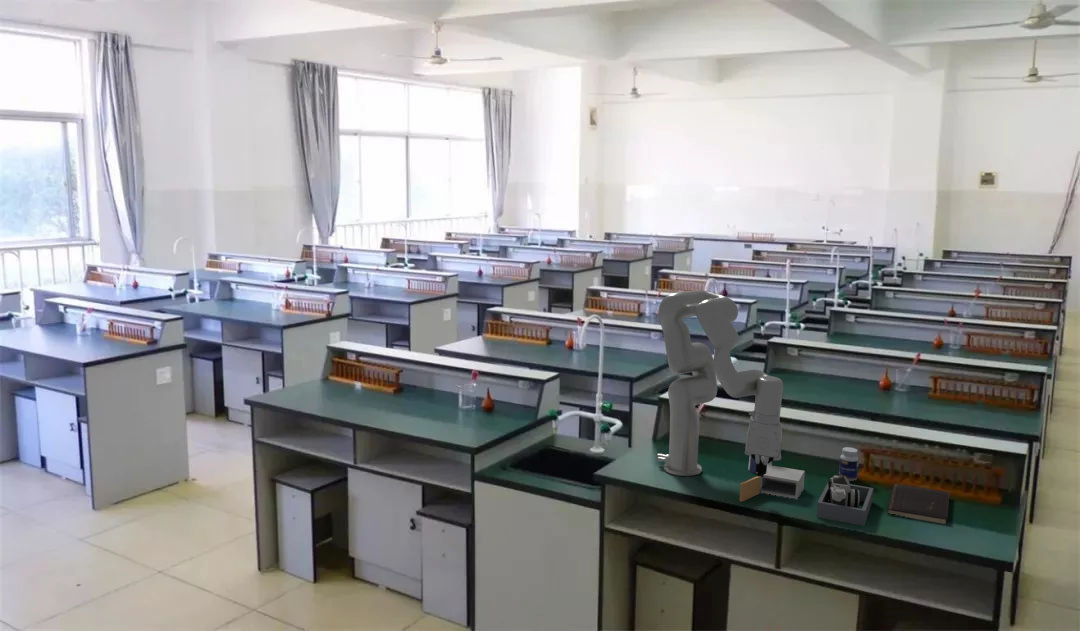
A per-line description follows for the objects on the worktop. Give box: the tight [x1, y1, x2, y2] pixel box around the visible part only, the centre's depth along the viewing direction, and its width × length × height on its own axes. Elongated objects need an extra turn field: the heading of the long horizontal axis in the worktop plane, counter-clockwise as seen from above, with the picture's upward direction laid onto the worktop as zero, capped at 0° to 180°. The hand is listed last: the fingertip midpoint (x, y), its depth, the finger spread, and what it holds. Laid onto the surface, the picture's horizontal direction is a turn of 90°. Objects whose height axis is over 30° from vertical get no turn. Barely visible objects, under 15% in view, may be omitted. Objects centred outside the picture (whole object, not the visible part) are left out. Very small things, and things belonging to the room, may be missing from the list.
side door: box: [738, 476, 762, 502], centre depth 258 cm, size 11×1×6 cm, turn 134°
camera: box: [827, 475, 860, 509], centre depth 249 cm, size 16×9×10 cm, turn 165°
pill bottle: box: [838, 446, 860, 482], centre depth 275 cm, size 6×6×10 cm
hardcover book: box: [886, 483, 950, 525], centre depth 254 cm, size 16×23×2 cm
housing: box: [760, 464, 806, 500], centre depth 264 cm, size 12×10×6 cm
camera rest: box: [816, 482, 874, 527], centre depth 250 cm, size 13×20×4 cm, turn 152°
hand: (760, 475), depth 255 cm, fingers closed
